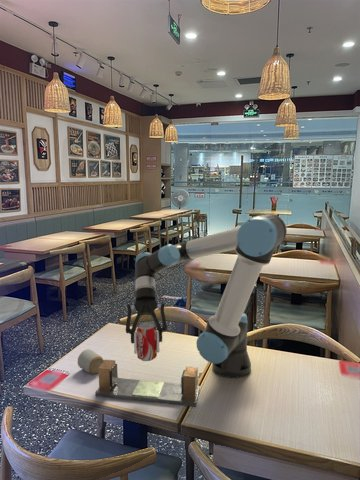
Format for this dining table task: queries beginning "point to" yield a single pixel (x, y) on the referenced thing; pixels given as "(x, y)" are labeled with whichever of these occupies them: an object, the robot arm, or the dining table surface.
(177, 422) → the dining table surface
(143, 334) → the soda can
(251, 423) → the dining table surface
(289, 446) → the dining table surface
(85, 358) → the ceramic mug
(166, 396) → the rail
